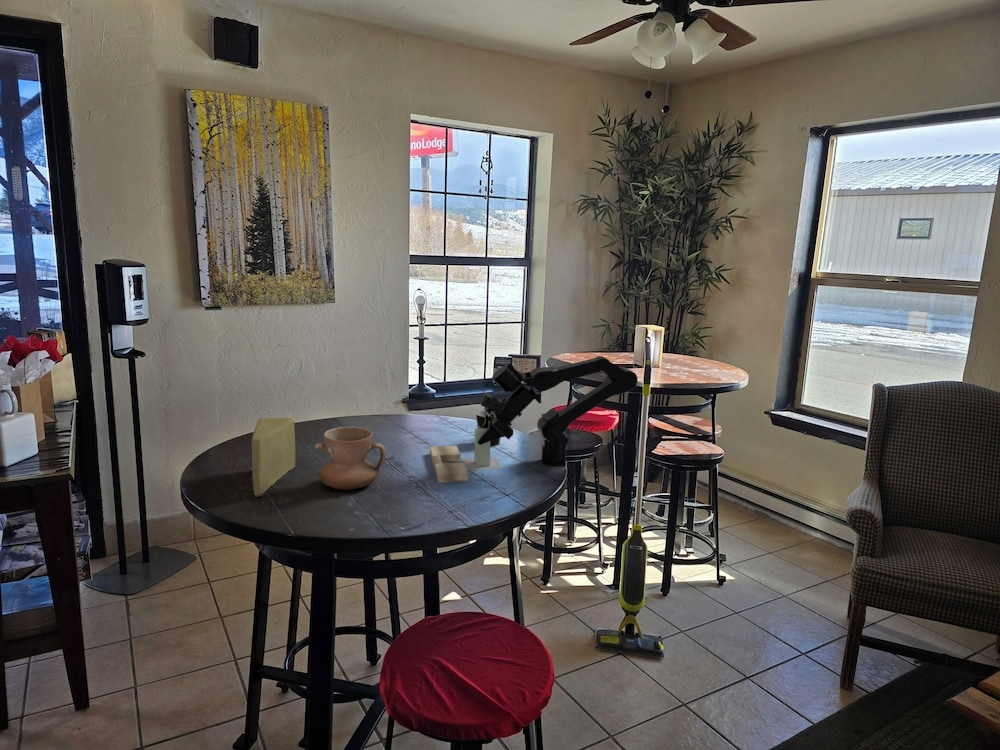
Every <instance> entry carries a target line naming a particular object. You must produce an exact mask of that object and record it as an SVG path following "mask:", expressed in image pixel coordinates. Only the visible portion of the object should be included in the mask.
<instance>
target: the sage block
mask: <svg viewBox="0 0 1000 750" xmlns="http://www.w3.org/2000/svg"><path fill="white" fill-rule="evenodd" d="M487 429H488V428H481V429H478V428H474V455H473V457H474V462H475V465H476V466H490V458H491V446H490V441H489V442H487V443H484V444H481V445H479V444H478V440H479V439H480V438H481V436H482V435H483V434H484V432H485V431H486V430H487Z"/></svg>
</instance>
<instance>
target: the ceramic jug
mask: <svg viewBox="0 0 1000 750" xmlns="http://www.w3.org/2000/svg"><path fill="white" fill-rule="evenodd" d="M323 438H324V443H323V442H318V443H317V444H315V445H314V449H315V450H323V451H325V452H327V453H328V454H329V455H330V458H331V460H330V461H328V463H326V464H325V465H324V466H323V467H322V468H321V469H319V470H318V471H317V475H318V477H319V478H320V480H321V482H322V483H323V484H324V485H325V486H326V487H329V488H331V489H335V490H340V491H342V490H343V491H346V490H347V491H348V490H349V491H350V490H356V489H360V488H364V487H367V486H368V485H370V484H372V483H373V482H374V481H375V480H376V478H377V477H378V475H380V470H381V467H382V466H383V464H384V462H385V460H386V456H387V451H386V448H385V446H384V444H382V443H378V442H376V443H375V442H374V443H372V439H373V431H372V430H370V429H369V428H366V427H362V426H360V427H359V426H352V425H350V426H342V427H341V426H340V427H336V428H331V429H328V430H326V431H325V433H324V434H323ZM376 449H378V450H379V451H380V458H379V461H378V462H377V465H376V466H375V465H374V464H373V463H372V462H370V461H369V460H367V459H366V457H367V455H368V453H370V452H371V451H372V450H376Z"/></svg>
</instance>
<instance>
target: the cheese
mask: <svg viewBox="0 0 1000 750" xmlns="http://www.w3.org/2000/svg"><path fill="white" fill-rule="evenodd" d="M251 460H252V461H251V466H252V467H251V469H252V472H251V473H252V475H251V476H252V487H253V495H261V494H262V493H264V492H265V491H266V490H267V489H268V488H269V487H270V486H271V485H273V484H274V483H275V482H276V481H277V480H278V479H280V478H281V477H282V476H283V475H285V474H286V473H287V472H288V471H290V470H291V469H292V470H293V468H294V467H296V433H295V421H294V419H293V418H290V417H265V418H264V417H262V418H259V419H258V420H257V423H256V425H255V428H254V430H253V433H252V437H251ZM294 469H295V468H294ZM292 470H291V471H292ZM291 471H290V472H291ZM288 473H289V472H288ZM288 473H287V474H288ZM287 474H286V475H287ZM286 475H285V476H286ZM283 477H284V476H283ZM283 477H282V478H283ZM282 478H281V479H282ZM281 479H280V480H281Z"/></svg>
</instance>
